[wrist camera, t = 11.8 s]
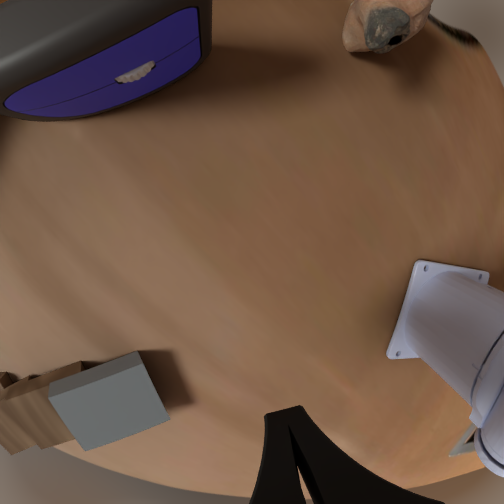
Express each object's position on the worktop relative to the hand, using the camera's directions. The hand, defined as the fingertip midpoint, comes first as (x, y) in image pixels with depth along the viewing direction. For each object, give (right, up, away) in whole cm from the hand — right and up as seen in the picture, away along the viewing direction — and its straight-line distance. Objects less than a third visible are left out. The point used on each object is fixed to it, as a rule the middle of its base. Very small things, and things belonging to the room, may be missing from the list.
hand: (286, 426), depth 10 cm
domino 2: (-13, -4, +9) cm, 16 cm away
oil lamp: (+6, +20, +6) cm, 22 cm away
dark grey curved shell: (-12, +18, +5) cm, 22 cm away
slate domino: (-8, -3, +9) cm, 12 cm away
